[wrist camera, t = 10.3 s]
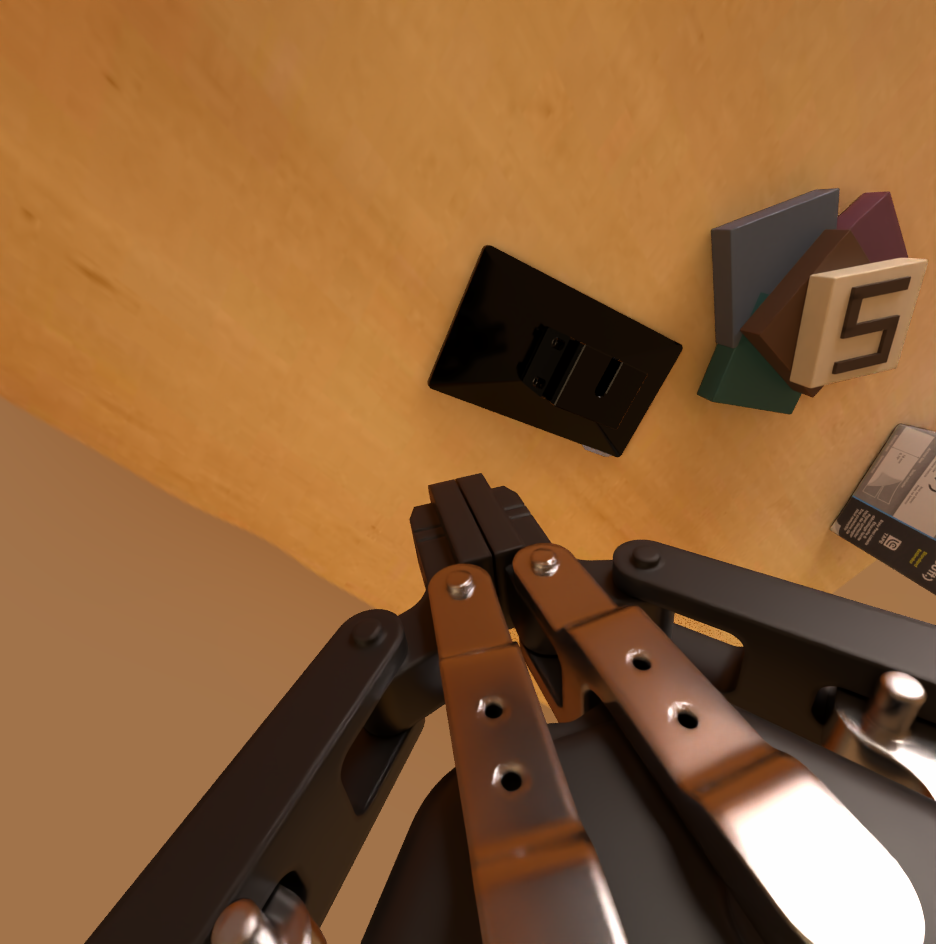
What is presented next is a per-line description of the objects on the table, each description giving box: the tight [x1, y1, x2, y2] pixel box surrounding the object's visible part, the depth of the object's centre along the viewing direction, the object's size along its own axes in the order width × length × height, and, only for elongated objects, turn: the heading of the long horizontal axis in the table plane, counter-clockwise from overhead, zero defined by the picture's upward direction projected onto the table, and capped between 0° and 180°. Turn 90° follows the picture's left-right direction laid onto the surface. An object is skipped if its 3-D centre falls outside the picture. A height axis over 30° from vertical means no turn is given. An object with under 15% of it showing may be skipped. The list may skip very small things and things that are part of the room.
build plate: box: [428, 245, 683, 457], centre depth 24 cm, size 12×7×5 cm, turn 67°
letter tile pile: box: [697, 188, 928, 414], centre depth 26 cm, size 12×12×4 cm
